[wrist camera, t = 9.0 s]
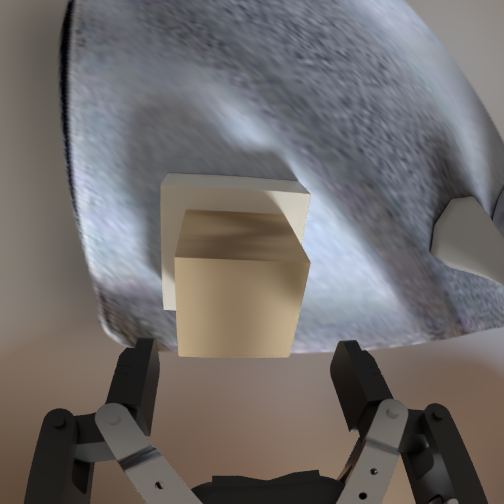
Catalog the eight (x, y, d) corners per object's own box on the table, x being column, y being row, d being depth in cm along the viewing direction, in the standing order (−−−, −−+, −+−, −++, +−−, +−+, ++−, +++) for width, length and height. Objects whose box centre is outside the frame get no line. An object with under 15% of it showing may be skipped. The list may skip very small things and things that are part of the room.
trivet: (299, 181, 22) (310, 194, 19) (280, 290, 26) (288, 313, 23) (167, 173, 20) (160, 184, 18) (168, 286, 25) (163, 309, 22)
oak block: (284, 214, 20) (310, 262, 14) (272, 295, 22) (288, 357, 17) (185, 209, 19) (174, 257, 13) (185, 293, 21) (178, 356, 16)
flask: (446, 185, 23) (528, 235, 14) (491, 204, 24) (563, 250, 16) (418, 260, 26) (482, 328, 17) (466, 267, 27) (525, 325, 19)
